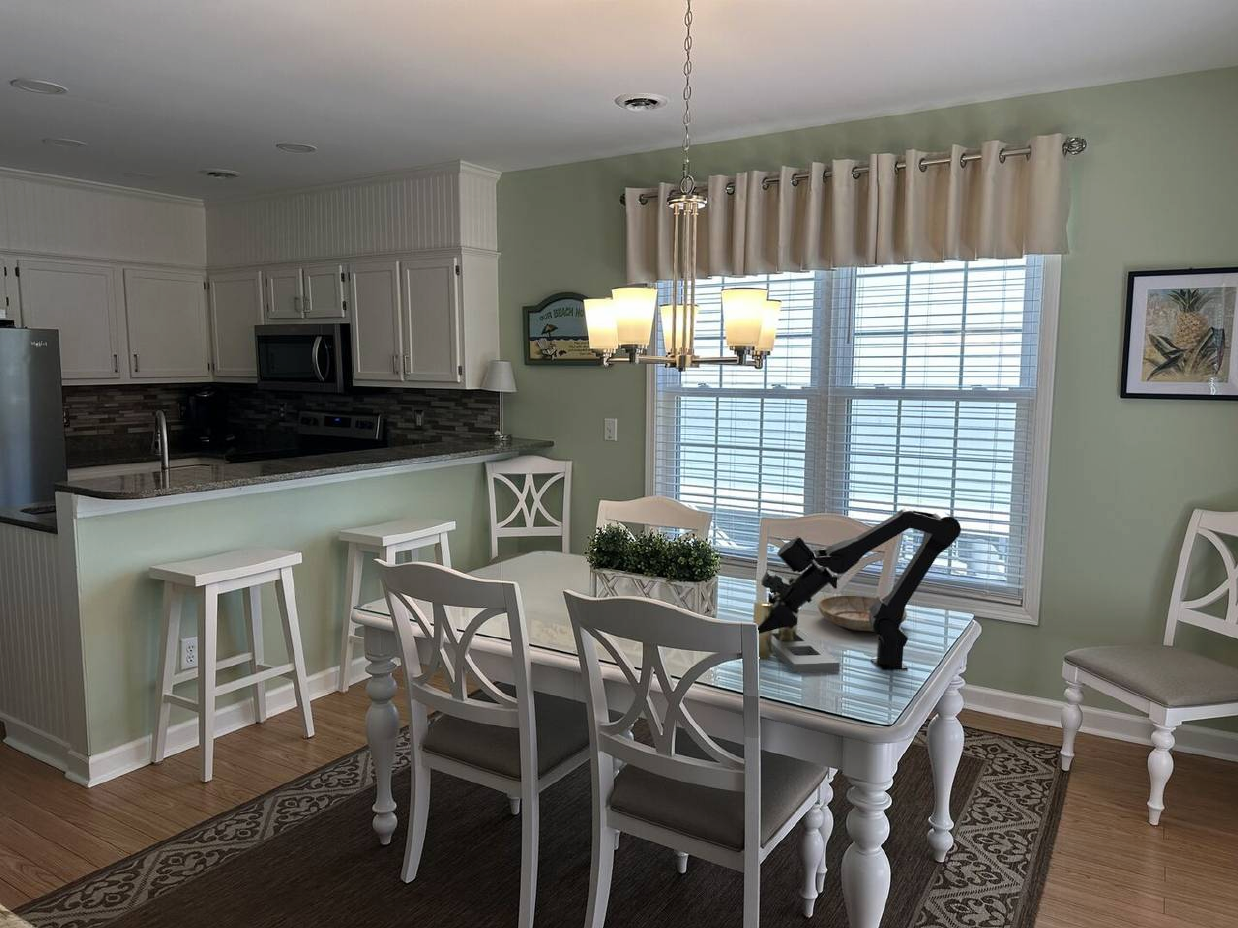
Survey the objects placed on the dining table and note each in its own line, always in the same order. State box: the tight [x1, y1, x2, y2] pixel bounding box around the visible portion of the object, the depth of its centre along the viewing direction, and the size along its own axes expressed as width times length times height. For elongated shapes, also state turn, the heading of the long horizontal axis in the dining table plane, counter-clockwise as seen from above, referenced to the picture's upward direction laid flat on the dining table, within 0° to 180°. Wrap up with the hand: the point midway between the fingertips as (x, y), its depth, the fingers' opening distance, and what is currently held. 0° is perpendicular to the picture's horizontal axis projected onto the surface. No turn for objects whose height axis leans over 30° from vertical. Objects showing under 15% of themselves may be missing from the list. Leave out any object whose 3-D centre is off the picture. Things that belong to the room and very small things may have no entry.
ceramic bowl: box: [817, 594, 908, 632], centre depth 233 cm, size 23×24×5 cm
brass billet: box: [752, 601, 773, 661], centre depth 205 cm, size 4×4×13 cm
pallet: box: [771, 629, 841, 674], centre depth 208 cm, size 24×11×2 cm, turn 10°
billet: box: [778, 612, 799, 642], centre depth 214 cm, size 4×4×13 cm
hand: (756, 627), depth 205 cm, fingers open, 6 cm apart
